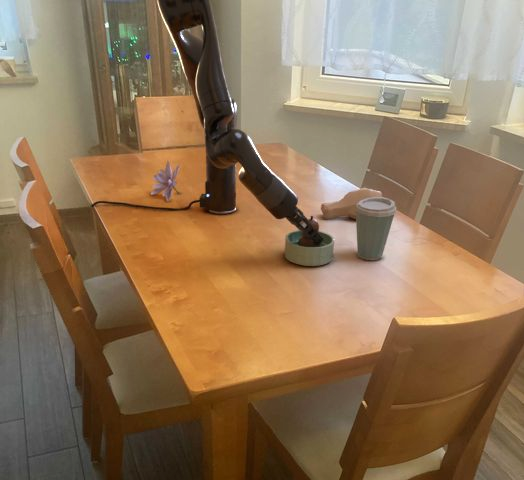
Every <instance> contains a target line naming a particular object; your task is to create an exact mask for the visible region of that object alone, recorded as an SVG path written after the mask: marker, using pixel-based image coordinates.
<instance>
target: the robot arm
mask: <svg viewBox="0 0 524 480" xmlns="http://www.w3.org/2000/svg"><path fill="white" fill-rule="evenodd" d="M157 5H158V9H159V12H160V14H161V17H162V19H163V22H164V24H165V27H166V29H167V31H168V33H169V35H170V37H171V39H172V41H173V44H174V46H175V48H176V51H177V54H178V57H179V61H180V64H181V67H182V70H183V74H184V75H185V78H186V81H187V84H188V86H189V88H190V91H191V93H192V96H193V99H194V103H195V107H196V111H197V115H198V119H199V122H200V126H201V127H202V129H204V144H205V173H206V175H205V176H206V177H205V178H206V180H205V182H204V191H205V192H204V193H201V194H200V196H199V199H195V200H192V201H191V202H189V204H188V206H185V207H179V208H174V207H163V206H162V207H161V206H150V205H142V204H133V203H128V202H121V201H108V200H98V201H95V202H93V203H91V205H90V207H91V208H93V207H95V206H96V205H99V204H108V205H118V206H119V205H122V206H126V207H127V206H128V207H133V208H142V209H148V210H162V211H185V210H190V208H191V207H192V205H193V204H196V203H199V208H201V209H202V208H204V209H205V212H207V213H210V214H215V215H228V214H232V213H235V212H236V211H237V181H236V180H237V163H238V164H239V165H240V166H241V168H240V170H239V171H238V180H239V181H240V183H241V184H242V185H243V187H245V188H246V190H248V191H249V192H250V193H251V194H252V195H253V197H255V199H256V200H257V201H258V202H259V204H261V206H263V207H264V208H265V209H266V211H267V212H269V214H271V216H273V217H274V219H276V220H283V219H286V220H287V221H288V222H289V223H290V224H291V225H293V226H295V228H296V229H298V230H300V231H301V232H304V233H305V234H306V235H307V236H308V237H309V238H311V239H312V240H313V241H314V242H315V243H316V244H317V245H319V244H320V243H321V242H322V241H323V238H322V237H321V236H320V235H319V234H318V233H317V231H316V229H315V228H313V227H312V225H311V224H310V221H309V220H308V219H309V218H308V217H306V216H305V214H304V212H303V211H302V210H301V209H300V208H299V207H298V206H297V205H298V204H299V203H298V202H299V198H298V196H297V194H295V192H294V191H293V190H292V189H291V188H290V187H289V186H288V185H287V184H286V183H285V182H284V181H283V180H282V179H281V178H280V177H279V176H278V175H277V174H275V173H274V171H272V170H271V168H269V167H268V166H267V164H266V163H265V162H264V161H263V160H262V158H261V156H260V154H259V152H258V149H257V148H256V147H255V145H254V142H253V141H252V139H251V137H250V136H249V135H248V134H247V133H246V132H245V131H244V130H242V129H239V128H237V125H238V104H237V101H236V100H235V99H234V98H231V95H230V91H229V87H228V84H227V80H226V76H225V72H224V66H223V62H222V61H223V60H222V55H221V48H220V42H219V36H218V32H217V31H218V30H217V26H216V21H215V16H214V11H213V6H212V2H211V0H157ZM198 26H201V29H202V38H201V37H199V36H197V35H195V34H193V33H192V32H190V31H189V30H190V29H193V28H196V27H198Z"/></svg>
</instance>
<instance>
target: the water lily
mask: <svg viewBox="0 0 524 480" xmlns="http://www.w3.org/2000/svg"><path fill="white" fill-rule="evenodd" d="M179 171H180V164H178V165H177V166H176V167H175V169H174V170H173V171H172V166H171V163H170V162H169V160H167V161H166V163H165V169H163V168H161V169H159V172H158V173H156V174H154V175H152V179H153V181H155V182H156V183H157V184H154V185H152V188H153V191H151V193H150V196H153V195H157V194H160V193H162V197H165V200H166V202H169V201H170V200H171V198H172V195H173V190H174V191H175V192H176V193H177V194H178V195H179V194H180V191H179V190H178V189H177V188H176V186H177V185H178V182H177V180H176V178H177V176H178V174H179Z"/></svg>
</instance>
